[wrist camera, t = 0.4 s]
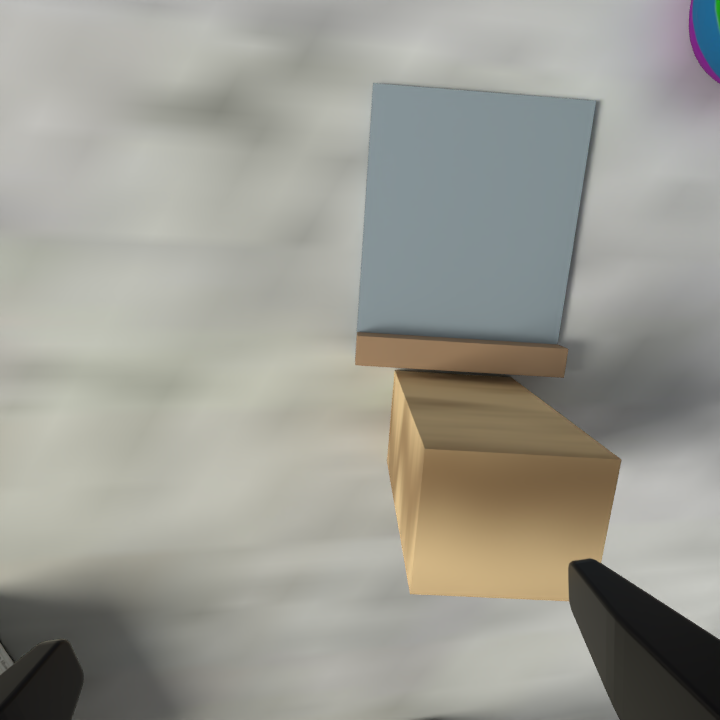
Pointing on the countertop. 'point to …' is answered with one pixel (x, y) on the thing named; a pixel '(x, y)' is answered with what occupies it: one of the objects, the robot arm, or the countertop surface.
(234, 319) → the countertop surface
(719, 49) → the decorative egg
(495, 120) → the slate mat
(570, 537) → the oak block
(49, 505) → the countertop surface
